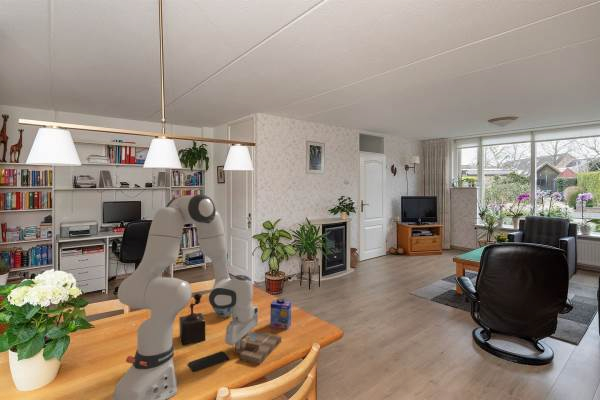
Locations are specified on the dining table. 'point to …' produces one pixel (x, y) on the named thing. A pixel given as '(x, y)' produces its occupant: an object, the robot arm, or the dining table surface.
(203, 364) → the phone
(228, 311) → the chinaware
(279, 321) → the ink cartridge box
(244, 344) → the marking gauge
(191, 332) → the coffee grinder
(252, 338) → the slate pad
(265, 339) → the walnut board
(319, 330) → the dining table surface
